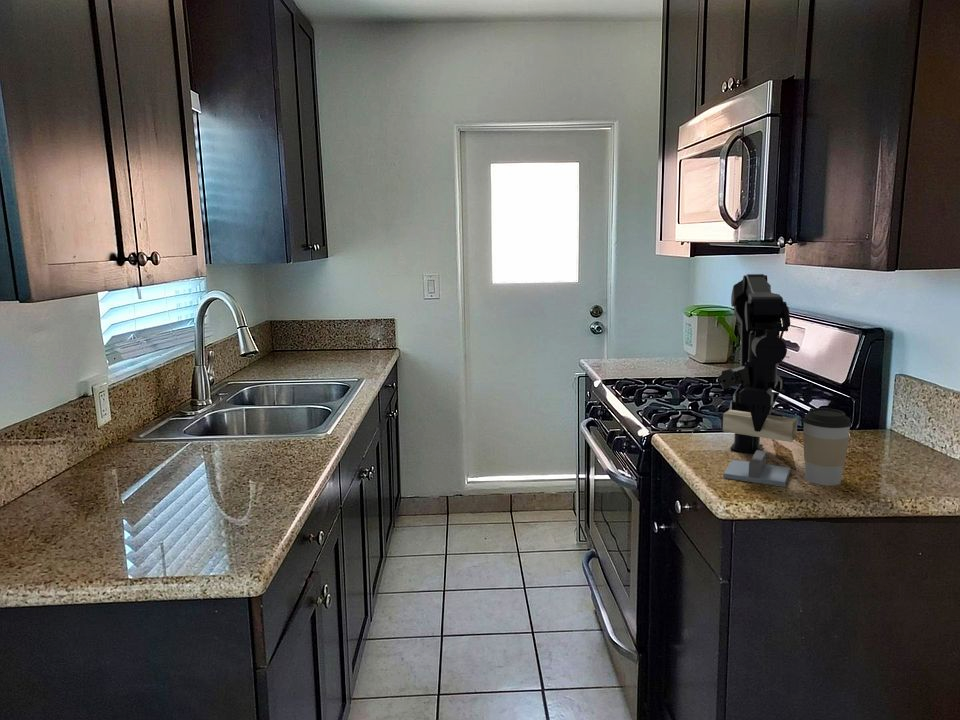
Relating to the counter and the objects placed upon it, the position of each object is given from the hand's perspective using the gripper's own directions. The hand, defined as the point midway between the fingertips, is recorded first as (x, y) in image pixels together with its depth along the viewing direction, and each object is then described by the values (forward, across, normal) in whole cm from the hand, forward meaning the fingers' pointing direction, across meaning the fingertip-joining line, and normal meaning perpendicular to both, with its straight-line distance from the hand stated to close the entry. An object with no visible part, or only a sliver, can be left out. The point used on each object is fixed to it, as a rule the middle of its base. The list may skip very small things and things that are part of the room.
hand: (759, 428), depth 144 cm
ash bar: (+1, 0, 0) cm, 1 cm away
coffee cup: (+10, -3, +13) cm, 17 cm away
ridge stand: (+10, 0, 0) cm, 10 cm away
